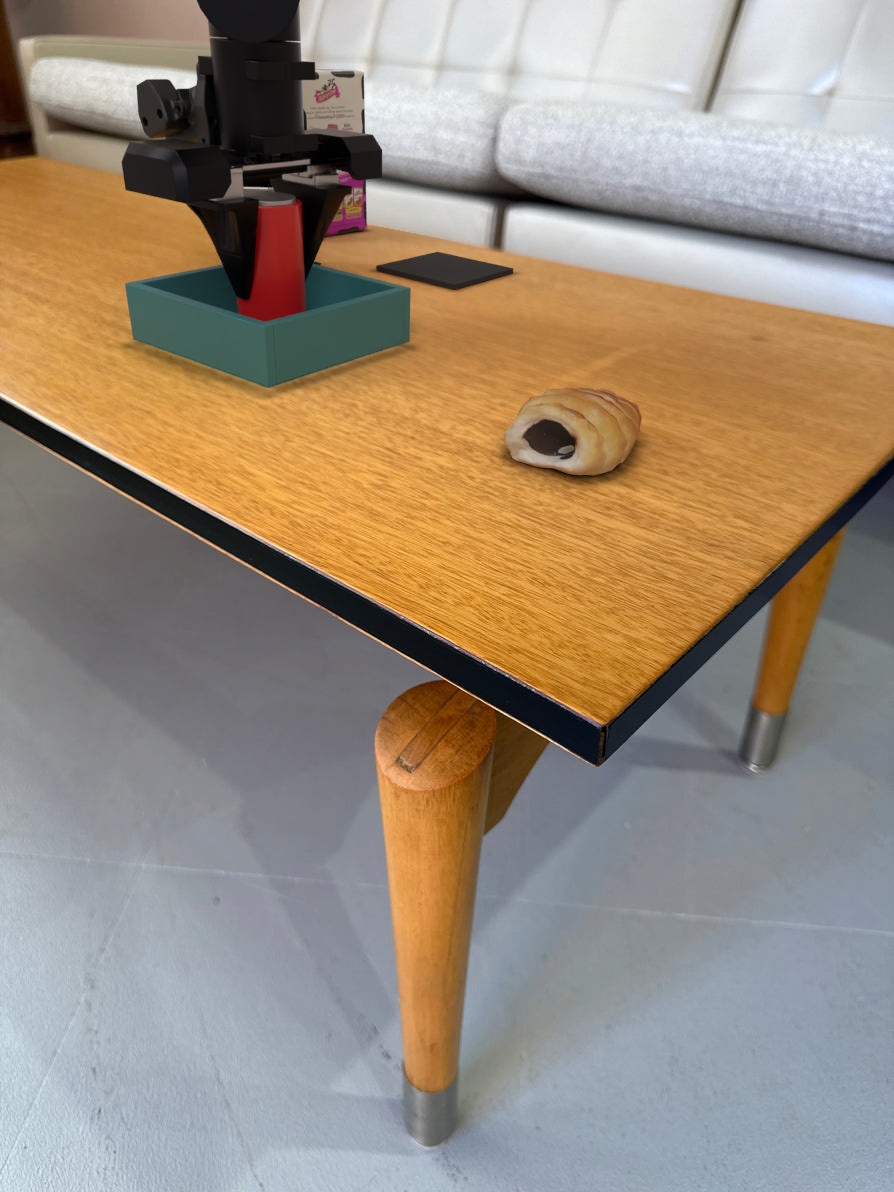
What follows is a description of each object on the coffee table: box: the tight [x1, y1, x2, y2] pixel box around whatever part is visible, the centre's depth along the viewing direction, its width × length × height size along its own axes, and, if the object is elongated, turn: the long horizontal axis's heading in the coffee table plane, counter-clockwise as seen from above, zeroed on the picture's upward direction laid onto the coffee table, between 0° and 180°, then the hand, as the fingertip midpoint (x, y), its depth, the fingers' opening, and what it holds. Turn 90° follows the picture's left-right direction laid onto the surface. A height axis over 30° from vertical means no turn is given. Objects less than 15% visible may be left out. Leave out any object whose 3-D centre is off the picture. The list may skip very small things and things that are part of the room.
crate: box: [124, 264, 412, 389], centre depth 65 cm, size 15×15×4 cm
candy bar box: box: [267, 68, 368, 237], centre depth 98 cm, size 11×5×16 cm, turn 138°
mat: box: [375, 251, 514, 290], centre depth 88 cm, size 10×10×1 cm
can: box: [237, 191, 306, 322], centre depth 63 cm, size 5×5×10 cm
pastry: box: [503, 387, 643, 477], centre depth 51 cm, size 9×7×4 cm
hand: (271, 291), depth 64 cm, fingers closed on can, 5 cm apart
